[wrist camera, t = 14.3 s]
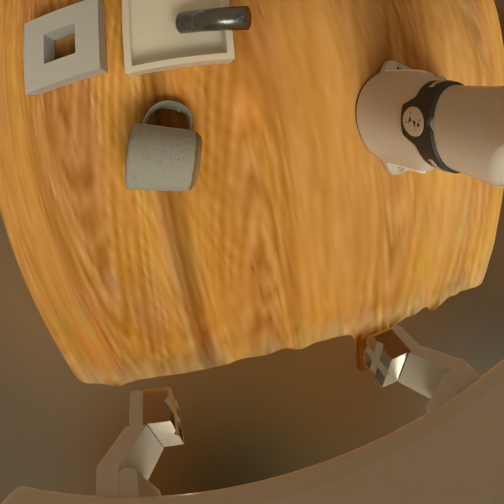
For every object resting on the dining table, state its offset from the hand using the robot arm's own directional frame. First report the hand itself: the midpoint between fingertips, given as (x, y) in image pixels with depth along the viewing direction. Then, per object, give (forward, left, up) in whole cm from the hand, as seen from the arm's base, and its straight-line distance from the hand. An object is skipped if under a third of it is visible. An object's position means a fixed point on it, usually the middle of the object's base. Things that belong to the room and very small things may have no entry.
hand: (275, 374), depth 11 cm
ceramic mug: (+4, -6, -31) cm, 32 cm away
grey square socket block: (+15, -22, -31) cm, 41 cm away
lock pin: (0, -21, -29) cm, 36 cm away
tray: (+1, -22, -31) cm, 38 cm away
